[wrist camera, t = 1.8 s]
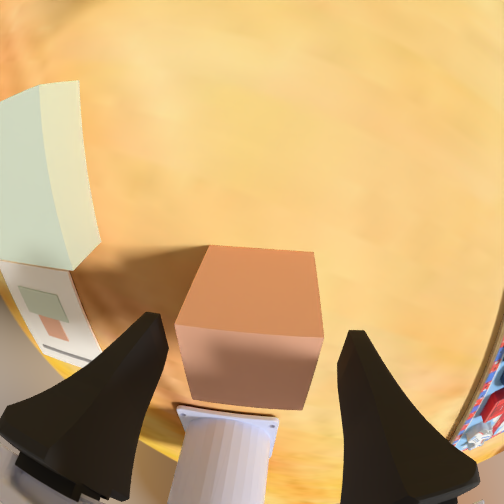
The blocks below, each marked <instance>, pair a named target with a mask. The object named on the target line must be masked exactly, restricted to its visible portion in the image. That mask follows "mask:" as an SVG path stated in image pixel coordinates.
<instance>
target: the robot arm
mask: <svg viewBox="0 0 504 504" xmlns="http://www.w3.org/2000/svg"><path fill="white" fill-rule="evenodd" d="M168 349H169V347H168V343H167V339H166V336H165V332H164V328H163V324H162V320H161V316H160V314H157V313H151V312H145V313H144V314H143V315H142V316H141V317H140V318H139V319H138V320H137V321H136V322H135V323H133V324H132V325H131V326H130V327H129V328H128V329H127V330H126V331H125V332H124V333H123V334H122V335H121V336H120V337H119V338H117V339H116V340H115V341H114V342H113V343H112V344H111V345H110V346H109V347H108V348H106V349H105V350H104V351H103V352H102V353H101V354H99V355H98V356H97V357H96V358H95V359H93V360H92V361H91V362H90V363H88V364H87V365H86V366H84V367H83V368H82V369H80V370H79V371H77V372H76V373H75V374H73V375H72V376H70V377H69V378H67V379H65V380H63V381H62V382H60V383H58V384H57V385H55V386H53V387H52V388H50V389H48V390H46V391H44V392H42V393H40V394H38V395H35V396H33V397H31V398H29V399H26V400H23V401H21V402H18V403H15V404H12V405H9V406H7V407H6V409H5V411H4V413H3V415H2V416H1V418H0V435H1V436H2V437H3V438H4V439H5V440H7V441H8V442H9V443H10V444H12V445H13V446H14V447H15V448H17V449H18V450H19V451H20V453H19V456H18V455H17V454H15V453H14V452H12V451H11V450H10V449H8V448H7V447H6V446H4V445H3V444H1V443H0V501H1V502H2V503H3V504H104V503H102V502H100V501H99V500H100V497H101V498H103V499H106V500H109V498H110V497H111V498H114V499H116V500H119V501H121V502H122V501H126V500H128V499H129V494H130V484H131V475H132V469H133V463H134V457H135V452H136V447H137V443H138V438H139V434H140V431H141V427H142V423H143V420H144V417H145V414H146V411H147V409H148V406H149V404H150V401H151V399H152V396H153V394H154V391H155V389H156V386H157V384H158V381H159V379H160V376H161V374H162V371H163V368H164V365H165V361H166V357H167V353H168ZM337 382H338V394H339V402H340V410H341V418H342V426H343V435H344V466H343V483H342V493H341V502H340V504H457V503H458V501H457V497H458V496H460V495H461V494H464V493H465V492H467V491H469V490H471V489H473V488H475V487H476V486H477V485H479V483H480V477H479V472H478V467H477V464H476V461H474V460H473V459H471V458H470V457H469V456H467V455H466V454H464V453H463V452H461V451H460V450H459V449H457V448H456V447H455V446H454V445H452V444H451V443H450V442H449V441H448V440H447V439H445V438H444V437H443V436H442V435H441V434H440V433H439V432H438V431H437V430H436V429H435V428H434V427H433V426H432V425H431V424H430V423H429V422H428V421H427V420H426V419H425V418H424V417H423V416H422V415H421V413H420V412H419V411H418V410H417V409H416V407H415V406H414V405H413V404H412V403H411V401H410V400H409V399H408V397H407V396H406V395H405V393H404V392H403V391H402V389H401V388H400V386H399V385H398V384H397V382H396V381H395V379H394V378H393V376H392V375H391V373H390V372H389V370H388V369H387V367H386V365H385V364H384V362H383V361H382V359H381V357H380V356H379V354H378V352H377V351H376V349H375V347H374V346H373V344H372V342H371V341H370V339H369V337H368V336H367V334H366V332H365V331H364V330H349V331H348V334H347V337H346V340H345V343H344V346H343V349H342V352H341V354H340V357H339V360H338V363H337ZM176 411H177V413H178V416H179V418H180V420H181V423H182V425H183V428H184V430H185V432H186V433H185V437H184V441H183V444H182V448H181V452H180V456H179V460H178V463H177V468H176V471H175V475H174V479H173V483H172V487H171V490H170V494H169V498H168V502H167V504H264V499H265V490H266V481H267V471H268V461H269V458H270V457H271V455H272V451H273V447H274V442H275V438H276V434H277V430H278V425H279V419H278V418H276V417H267V416H255V415H245V414H236V413H228V412H220V411H213V410H206V409H200V408H194V407H189V406H183V405H179V406H177V409H176ZM473 504H484V500H480V501H478V502H476V503H473Z"/></svg>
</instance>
